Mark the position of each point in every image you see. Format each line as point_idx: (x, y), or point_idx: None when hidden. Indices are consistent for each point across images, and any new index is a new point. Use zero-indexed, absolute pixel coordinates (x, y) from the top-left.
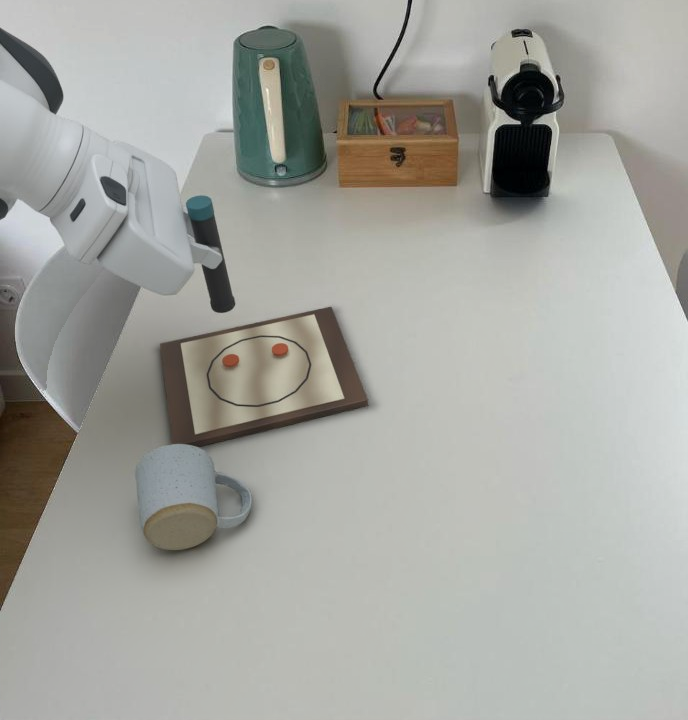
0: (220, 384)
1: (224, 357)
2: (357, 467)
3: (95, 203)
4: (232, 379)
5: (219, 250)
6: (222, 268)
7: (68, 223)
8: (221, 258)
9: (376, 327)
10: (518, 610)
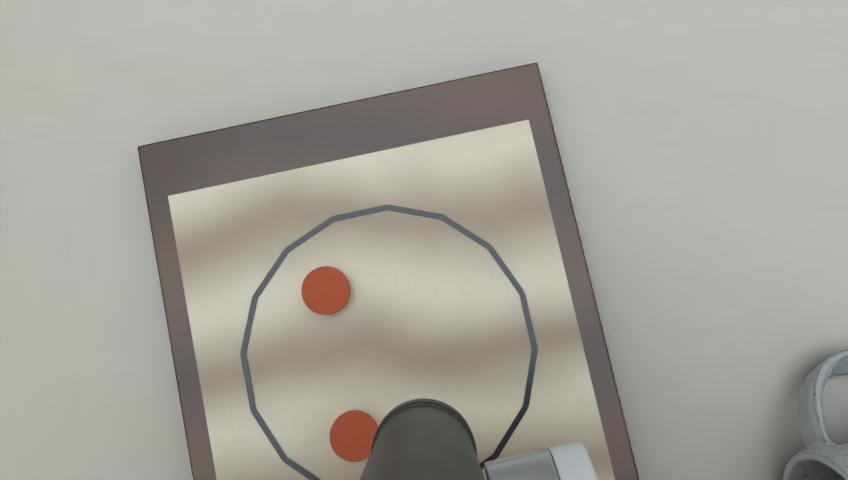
0: None
1: (342, 455)
2: (733, 105)
3: None
4: None
5: (511, 466)
6: (462, 449)
7: None
8: (583, 446)
9: (233, 33)
10: None
